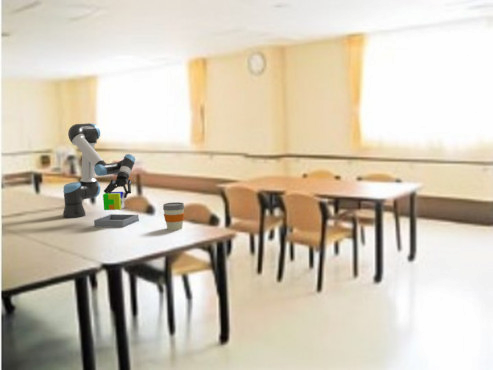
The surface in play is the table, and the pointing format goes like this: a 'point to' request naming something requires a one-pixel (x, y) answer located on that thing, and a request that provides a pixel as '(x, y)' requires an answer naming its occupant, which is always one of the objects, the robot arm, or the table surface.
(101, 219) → the tray
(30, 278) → the table surface
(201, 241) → the table surface
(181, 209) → the reusable coffee cup
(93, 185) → the robot arm
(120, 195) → the puzzle toy
